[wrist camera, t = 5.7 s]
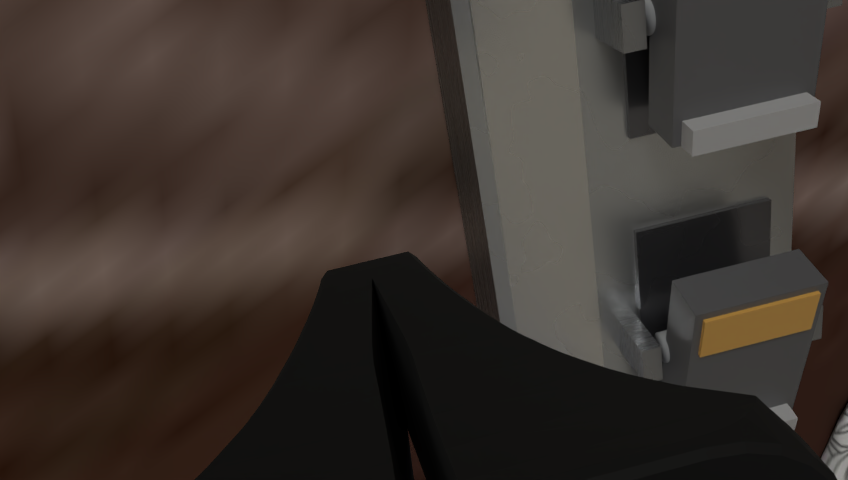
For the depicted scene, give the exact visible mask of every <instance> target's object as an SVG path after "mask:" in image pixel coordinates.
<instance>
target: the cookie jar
mask: <svg viewBox="0 0 848 480" xmlns="http://www.w3.org/2000/svg"><path fill="white" fill-rule="evenodd" d="M821 460H822V461H823V462H824V463H825V464H826V465H827V466H828V467H829V468H830V469H831V471H832V472H833V473H834V474H835V476H836V478H837V480H848V404H847V405H846V407H845V409H844V411H843V412H842V414H841V416H840V418H839V419H838V422H837V424H836V426H835V428H834V430H833V432H832V435H831V437H830V439H829V441H828V443H827V446H826V448H825V450H824V452H823V454H822V457H821Z"/></svg>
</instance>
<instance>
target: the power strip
mask: <svg viewBox="0 0 848 480" xmlns="http://www.w3.org/2000/svg"><path fill="white" fill-rule="evenodd" d="M840 5H842V0H828V4H827V8H831V7H836V6H840ZM426 6H427V12H428V18H429V24H430V30H431V36H432V42H433V48H434V53H435V59H436V65H437V71H438V77H439V83H440V89H441V95H442V101H443V107H444V113H445V119H446V125H447V130H448V136H449V142H450V148H451V154H452V160H453V166H454V172H455V178H456V184H457V190H458V196H459V201H460V207H461V213H462V219H463V225H464V231H465V237H466V243H467V249H468V255H469V261H470V267H471V273H472V278H473V284H474V290H475V296H476V302H477V308H479V309H480V310H482V311H483V312H485V313H486V314H488V315H489V316H491V317H492V318H494V319H496V320H497V321H499V322H500V323H502V324H504V325H505V326H507V327H509V328H510V329H512V330H514V331H516V332H518V333H520V334H522V335H524V336H526V337H528V338H530V339H533V340H535V341H537V342H539V343H541V344H543V345H545V346H548V347H550V348H552V349H554V350H557V351H560V352H562V353H565V354H567V355H570V356H573V357H575V358H578V359H581V360H584V361H587V362H590V363H593V364H596V365H599V366H602V367H605V368H609V369H612V370H616V371H619V372H623V373H627V374H630V375H634V376H639V377H643V378H648V379H652V380H657V381H661V380H662V379H663V373H662V370H663V361H662V352H661V346H660V345H659V344H658V342H657V341H656V340H655V339H654V336H655V333H657V332H661V331H665V330H667V323H668V314H669V305H670V295H671V286H672V280H676V279H680V278H684V277H688V276H692V275H696V274H700V273H704V272H708V271H712V270H716V269H720V268H724V267H728V266H732V265H736V264H740V263H744V262H748V261H752V260H756V259H760V258H764V257H768V256H772V255H776V254H780V253H784V252H788V251H791V244H792V219H793V194H794V168H795V143H796V132H795V133H791V134H787V135H782V136H778V137H774V138H770V139H765V140H761V141H757V142H753V143H748V144H744V145H740V146H736V147H731V148H727V149H723V150H719V151H715V152H710V153H706V154H702V155H698V156H693V157H692V156H691V155H690V154H689V153H688V152H687V151H686V150H684V149H683V148H682V147H681V146H680V147H676V148H671V147H670V146H669V145H668V144H667V143H666V142H665V141H664V140H663V139H662V138H661V137H660V136H659V135H658V134H657V133H656V132H655V131H654V130H653V129H652V128H651V127H650V126H649V125H648V119H649V36H647V34H646V13H645V0H426ZM822 318H823V305H822V306H821V310H820V313H819V317H818V320H817V324H816V327H815V331H814V334H813V338H812V341H813V340H817V339H820V338H821V334H822Z"/></svg>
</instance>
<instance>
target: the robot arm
mask: <svg viewBox="0 0 848 480" xmlns="http://www.w3.org/2000/svg"><path fill="white" fill-rule="evenodd" d="M407 429H408V430H407ZM408 431H409V434H410V437H411V440H412V442H413V445H414V448H415V450H416V453H417V456H418V458H419V461H420V464H421V467H422V469H423V472H424V475H425V477H426V480H837V478H836V476H835V474H834V473H833V472H832V471H831V469H830V468H829V467H828V466H827V465H826V464H825V463H824V462H823V461H822V460H821V459H820V457H819V456H818V455H817V454H816V453H815V452H814V451H813V450H812V449H811V448H810V446H809V445H808V444H807V443H806V442H805V441H804V440H803V439H802V438H801V437H800V436H799V435H798V434H797V433H796V432H795V431H794V430H793V429H792V428H791V427H790V426H789V425H788V424H787V423H786V422H785V421H783V420H782V419H781V418H780V417H779V416H778V415H777V414H775V413H774V412H773V411H772V410H771V409H770V408H769V407H767V406H766V405H765V404H764V403H763V402H762V401H761V400H760V399H759V398H758V397H757V396H755V395H747V394H740V393H732V392H725V391H717V390H710V389H702V388H695V387H688V386H681V385H675V384H670V383H666V382H661V381H657V380H652V379H648V378H643V377H639V376H634V375H630V374H627V373H623V372H619V371H616V370H612V369H609V368H605V367H602V366H599V365H596V364H593V363H590V362H587V361H584V360H581V359H578V358H575V357H573V356H570V355H567V354H565V353H562V352H560V351H557V350H554V349H552V348H550V347H548V346H545V345H543V344H541V343H539V342H537V341H535V340H533V339H530V338H528V337H526V336H524V335H522V334H520V333H518V332H516V331H514V330H512V329H510V328H509V327H507V326H505V325H504V324H502V323H500V322H499V321H497V320H496V319H494V318H492V317H491V316H489V315H488V314H486V313H485V312H483V311H482V310H480V309H479V308H477V307H476V306H474V305H473V304H472V303H470V302H469V301H468V300H466V299H465V298H463V297H462V296H461V295H459V294H458V293H457V292H455V291H454V290H453V289H452V288H450V287H449V286H448V285H446V284H445V283H444V282H443V281H442V280H441V279H439V278H438V277H437V276H436V275H435V274H434V273H432V272H431V271H430V270H429V269H428V268H427V267H426V266H425V265H424V264H423V263H422V262H421V261H420V260H419V259H418V258H417V257H416V256H414V255H413V254H411V253H409V252H404V253H400V254H396V255H392V256H388V257H383V258H379V259H375V260H371V261H367V262H362V263H358V264H354V265H350V266H346V267H342V268H337V269H333V270H329V271H327V272H326V273H325V275H324V276H323V278H322V279H321V283H320V287H319V290H318V293H317V296H316V299H315V302H314V305H313V307H312V310H311V312H310V315H309V317H308V319H307V322H306V324H305V326H304V328H303V330H302V332H301V335H300V337H299V339H298V341H297V343H296V345H295V347H294V349H293V351H292V353H291V355H290V357H289V358H288V360H287V362H286V364H285V365H284V367H283V369H282V371H281V372H280V374H279V376H278V378H277V380H276V381H275V383H274V385H273V386H272V388H271V389H270V391H269V392H268V394H267V395H266V397H265V399H264V400H263V401H262V403H261V404H260V406H259V407H258V409H257V410H256V411H255V413H254V414H253V415H252V417H251V418H250V420H249V421H248V422H247V423H246V425H245V426H244V427H243V428H242V430H241V431H240V432H239V433H238V434H237V435H236V436H235V437H234V438H233V439H232V441H231V442H230V443H229V444H228V445H227V446H226V447H225V448H224V449H223V450H222V452H221V453H220V454H219V455H218V456H217V457H216V458H215V459H214V460H213V461H212V463H211V464H210V465H209V466H208V467H207V468H206V469H205V470H204V471H203V472H202V473H201V474H200V475H199V476H198V477H197V478H196V479H195V480H414V477H413V469H412V461H411V453H410V445H409V437H408Z"/></svg>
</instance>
